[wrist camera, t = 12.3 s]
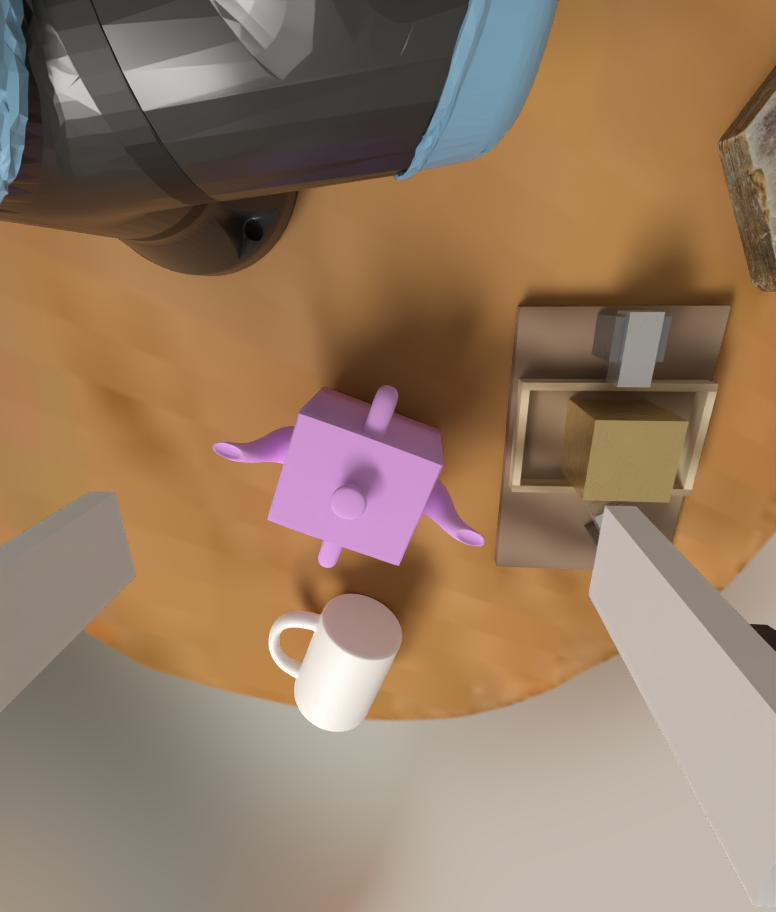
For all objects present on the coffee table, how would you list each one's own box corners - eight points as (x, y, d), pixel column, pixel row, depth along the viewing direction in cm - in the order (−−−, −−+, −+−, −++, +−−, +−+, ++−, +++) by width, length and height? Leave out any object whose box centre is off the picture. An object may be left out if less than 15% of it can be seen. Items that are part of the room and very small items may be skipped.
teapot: (320, 534, 43) (289, 610, 33) (259, 409, 39) (201, 451, 29) (472, 487, 40) (488, 555, 30) (422, 346, 36) (422, 369, 26)
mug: (404, 608, 46) (401, 670, 38) (372, 675, 49) (363, 744, 42) (294, 569, 45) (268, 625, 38) (270, 640, 49) (242, 704, 41)
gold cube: (568, 399, 36) (595, 420, 30) (647, 399, 35) (688, 421, 30) (559, 468, 38) (582, 500, 32) (632, 470, 37) (669, 502, 32)
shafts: (598, 309, 33) (619, 312, 29) (685, 308, 33) (718, 311, 29) (560, 556, 41) (574, 583, 37) (631, 559, 40) (651, 586, 37)
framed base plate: (517, 306, 35) (524, 307, 32) (720, 305, 33) (744, 306, 31) (494, 558, 43) (498, 575, 40) (657, 564, 42) (672, 582, 39)
